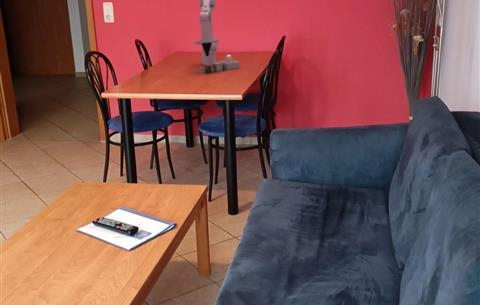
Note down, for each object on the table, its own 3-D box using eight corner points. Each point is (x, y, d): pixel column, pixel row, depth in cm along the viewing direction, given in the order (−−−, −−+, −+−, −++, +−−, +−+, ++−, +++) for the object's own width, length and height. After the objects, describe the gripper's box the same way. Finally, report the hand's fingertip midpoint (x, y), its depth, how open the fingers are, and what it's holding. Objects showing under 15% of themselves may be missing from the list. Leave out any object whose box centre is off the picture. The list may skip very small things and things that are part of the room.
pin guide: (212, 69, 350) (211, 62, 349) (217, 69, 352) (217, 62, 351) (217, 71, 346) (216, 64, 344) (222, 70, 348) (222, 63, 347)
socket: (219, 68, 355) (218, 61, 354) (230, 66, 360) (230, 59, 359) (227, 70, 348) (227, 63, 347) (239, 68, 353) (239, 61, 352)
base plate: (191, 72, 350) (191, 70, 350) (226, 66, 365) (226, 64, 365) (206, 76, 338) (206, 74, 338) (241, 69, 353) (241, 68, 352)
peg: (229, 67, 357) (229, 54, 354) (233, 68, 354) (233, 55, 351) (224, 67, 354) (224, 55, 352) (228, 68, 351) (227, 55, 349)
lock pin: (205, 71, 346) (204, 65, 344) (219, 69, 352) (219, 63, 351) (207, 72, 343) (207, 66, 342) (222, 69, 350) (222, 63, 349)
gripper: (195, 34, 332) (196, 57, 336) (219, 32, 336) (220, 55, 340) (192, 32, 338) (194, 56, 343) (216, 31, 342) (217, 54, 347)
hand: (207, 55), depth 342 cm, fingers closed
